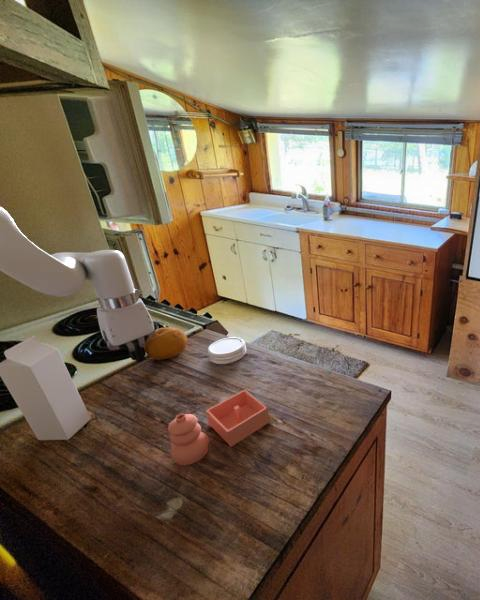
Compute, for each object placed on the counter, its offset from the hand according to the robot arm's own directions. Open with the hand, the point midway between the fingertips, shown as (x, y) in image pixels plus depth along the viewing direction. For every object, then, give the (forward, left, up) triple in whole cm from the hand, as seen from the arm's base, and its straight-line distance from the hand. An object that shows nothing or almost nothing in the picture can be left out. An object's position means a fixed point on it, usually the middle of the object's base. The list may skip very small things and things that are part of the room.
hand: (139, 359), depth 89 cm
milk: (+10, -20, -3) cm, 22 cm away
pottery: (+40, -4, -3) cm, 40 cm away
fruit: (0, +7, -3) cm, 8 cm away
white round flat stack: (+15, +16, -3) cm, 22 cm away
